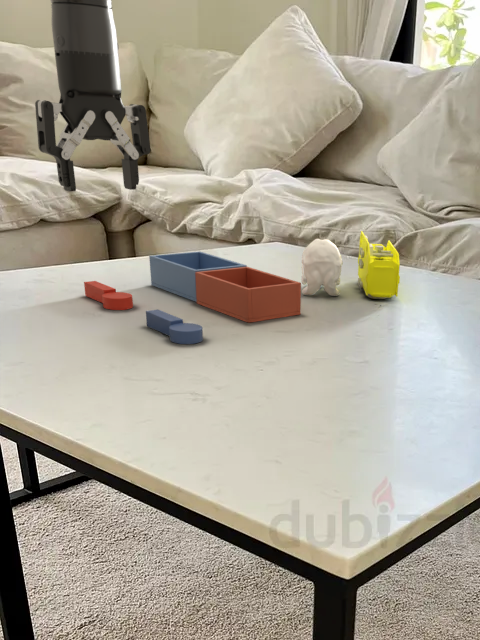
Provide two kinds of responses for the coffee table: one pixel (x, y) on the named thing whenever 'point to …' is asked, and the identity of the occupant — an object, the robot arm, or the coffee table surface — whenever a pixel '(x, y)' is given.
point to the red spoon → (108, 296)
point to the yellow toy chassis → (378, 269)
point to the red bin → (248, 294)
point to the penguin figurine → (321, 267)
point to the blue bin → (184, 271)
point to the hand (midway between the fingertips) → (100, 189)
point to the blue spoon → (174, 327)
